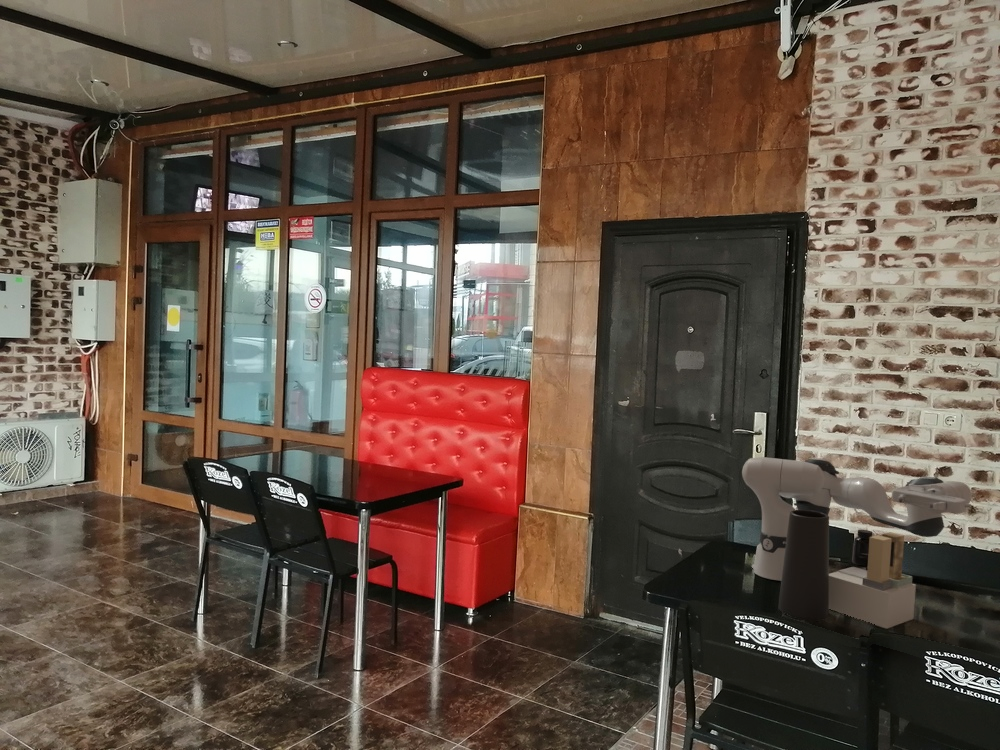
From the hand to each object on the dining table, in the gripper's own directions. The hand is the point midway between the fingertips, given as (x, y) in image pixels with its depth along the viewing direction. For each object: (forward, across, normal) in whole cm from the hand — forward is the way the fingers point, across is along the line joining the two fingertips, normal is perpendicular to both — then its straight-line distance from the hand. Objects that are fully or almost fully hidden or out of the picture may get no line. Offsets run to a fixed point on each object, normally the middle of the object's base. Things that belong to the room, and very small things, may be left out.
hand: (915, 503), depth 238 cm
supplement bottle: (-34, +33, -32) cm, 57 cm away
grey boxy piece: (+15, +4, -32) cm, 35 cm away
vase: (+31, +15, -32) cm, 47 cm away
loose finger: (+12, 0, -21) cm, 25 cm away
